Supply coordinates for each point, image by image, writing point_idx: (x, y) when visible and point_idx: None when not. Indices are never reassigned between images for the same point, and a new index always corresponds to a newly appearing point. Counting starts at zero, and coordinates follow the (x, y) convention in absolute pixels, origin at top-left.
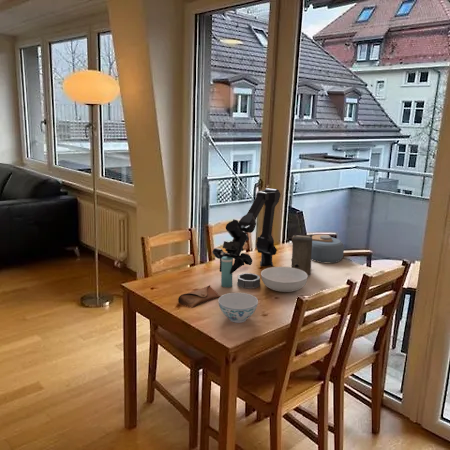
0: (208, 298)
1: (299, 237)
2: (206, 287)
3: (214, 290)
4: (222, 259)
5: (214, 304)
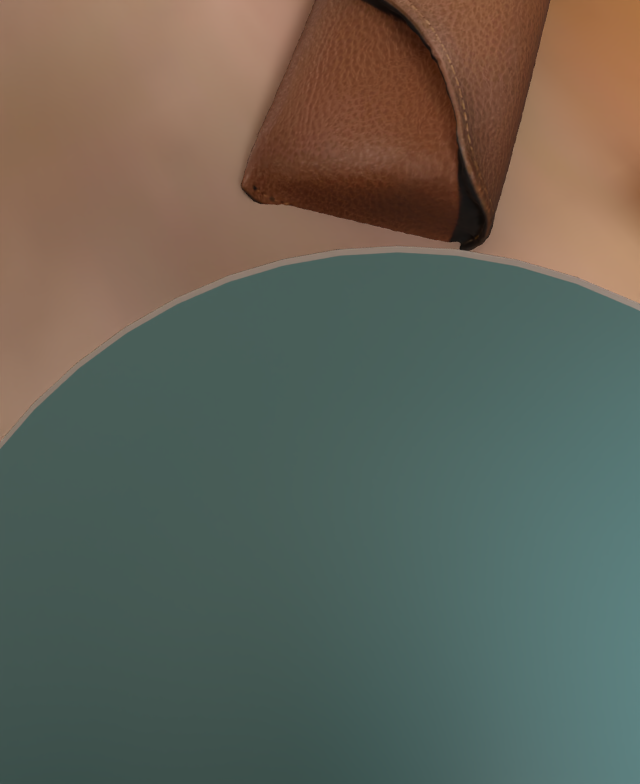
0: (315, 2)
1: None
2: (442, 34)
3: (361, 176)
4: (571, 284)
5: (216, 4)
